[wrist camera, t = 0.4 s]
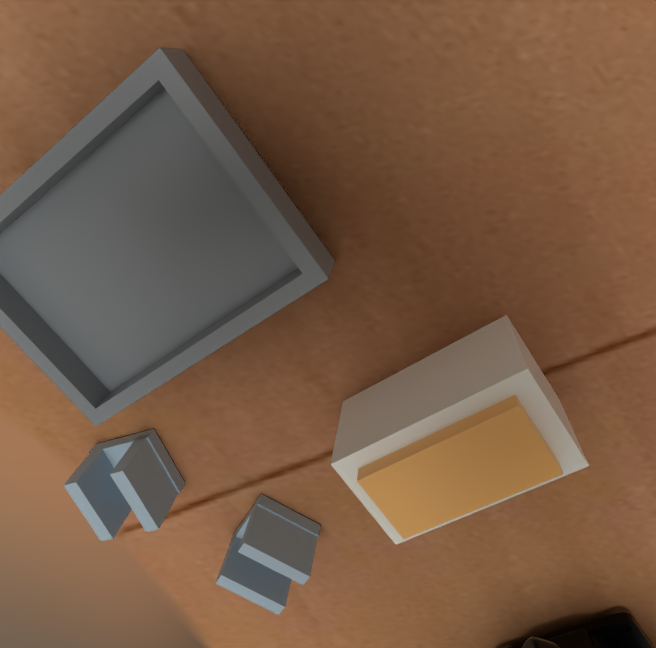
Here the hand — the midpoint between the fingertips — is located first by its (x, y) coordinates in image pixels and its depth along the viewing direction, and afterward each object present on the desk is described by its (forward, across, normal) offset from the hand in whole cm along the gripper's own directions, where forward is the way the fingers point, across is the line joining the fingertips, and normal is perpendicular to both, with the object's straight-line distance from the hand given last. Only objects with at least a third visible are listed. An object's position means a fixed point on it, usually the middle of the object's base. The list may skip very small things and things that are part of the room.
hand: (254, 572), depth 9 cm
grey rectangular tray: (+12, +8, 0) cm, 14 cm away
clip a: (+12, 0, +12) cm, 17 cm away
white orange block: (+12, -5, +3) cm, 14 cm away
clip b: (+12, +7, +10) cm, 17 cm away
